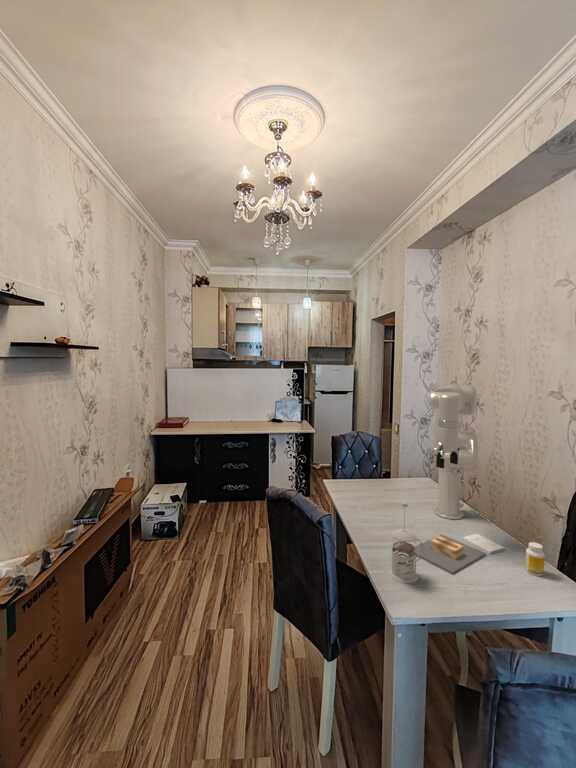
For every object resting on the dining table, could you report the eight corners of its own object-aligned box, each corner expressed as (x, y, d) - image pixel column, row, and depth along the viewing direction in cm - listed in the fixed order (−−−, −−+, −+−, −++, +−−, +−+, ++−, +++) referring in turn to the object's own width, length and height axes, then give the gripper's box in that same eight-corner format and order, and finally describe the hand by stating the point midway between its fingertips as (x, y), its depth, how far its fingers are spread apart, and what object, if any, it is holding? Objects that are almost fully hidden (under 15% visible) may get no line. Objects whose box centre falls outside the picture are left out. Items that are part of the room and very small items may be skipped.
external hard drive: (490, 555, 134) (463, 540, 146) (505, 551, 137) (477, 537, 149) (490, 551, 134) (463, 536, 146) (505, 547, 137) (477, 533, 149)
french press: (384, 566, 126) (385, 497, 124) (416, 565, 127) (417, 496, 125) (394, 583, 116) (395, 508, 115) (429, 582, 117) (430, 507, 115)
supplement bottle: (521, 567, 125) (522, 541, 125) (536, 567, 126) (537, 540, 125) (532, 576, 120) (533, 549, 119) (548, 576, 120) (549, 548, 120)
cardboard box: (463, 554, 132) (463, 545, 132) (455, 559, 129) (455, 550, 129) (438, 543, 140) (438, 535, 140) (429, 548, 137) (430, 539, 137)
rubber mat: (441, 536, 148) (441, 534, 148) (485, 555, 134) (485, 553, 133) (407, 551, 136) (408, 549, 136) (452, 574, 121) (452, 572, 121)
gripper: (451, 421, 153) (450, 460, 154) (427, 425, 144) (426, 467, 145) (468, 423, 147) (467, 464, 148) (444, 428, 137) (443, 471, 138)
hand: (447, 465), depth 146 cm, fingers open, 9 cm apart
